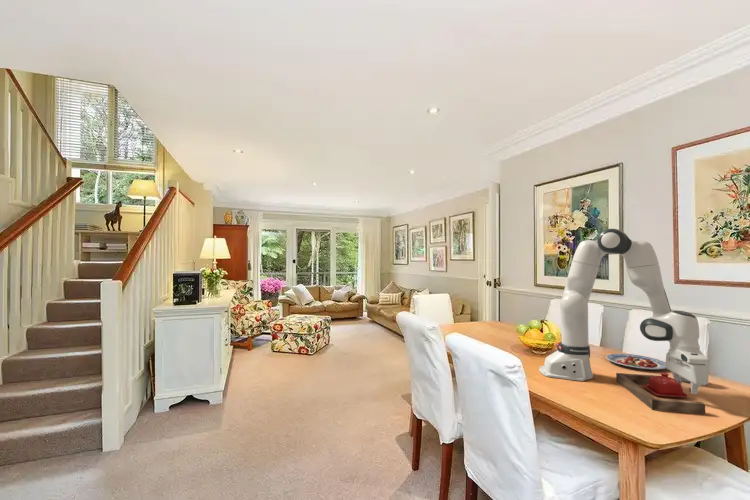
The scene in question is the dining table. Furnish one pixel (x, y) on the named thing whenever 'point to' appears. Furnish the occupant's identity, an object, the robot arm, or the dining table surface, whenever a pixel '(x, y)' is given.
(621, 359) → the ceramic plate
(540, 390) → the dining table surface
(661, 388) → the butter dish
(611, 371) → the dining table surface
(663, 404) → the dock
